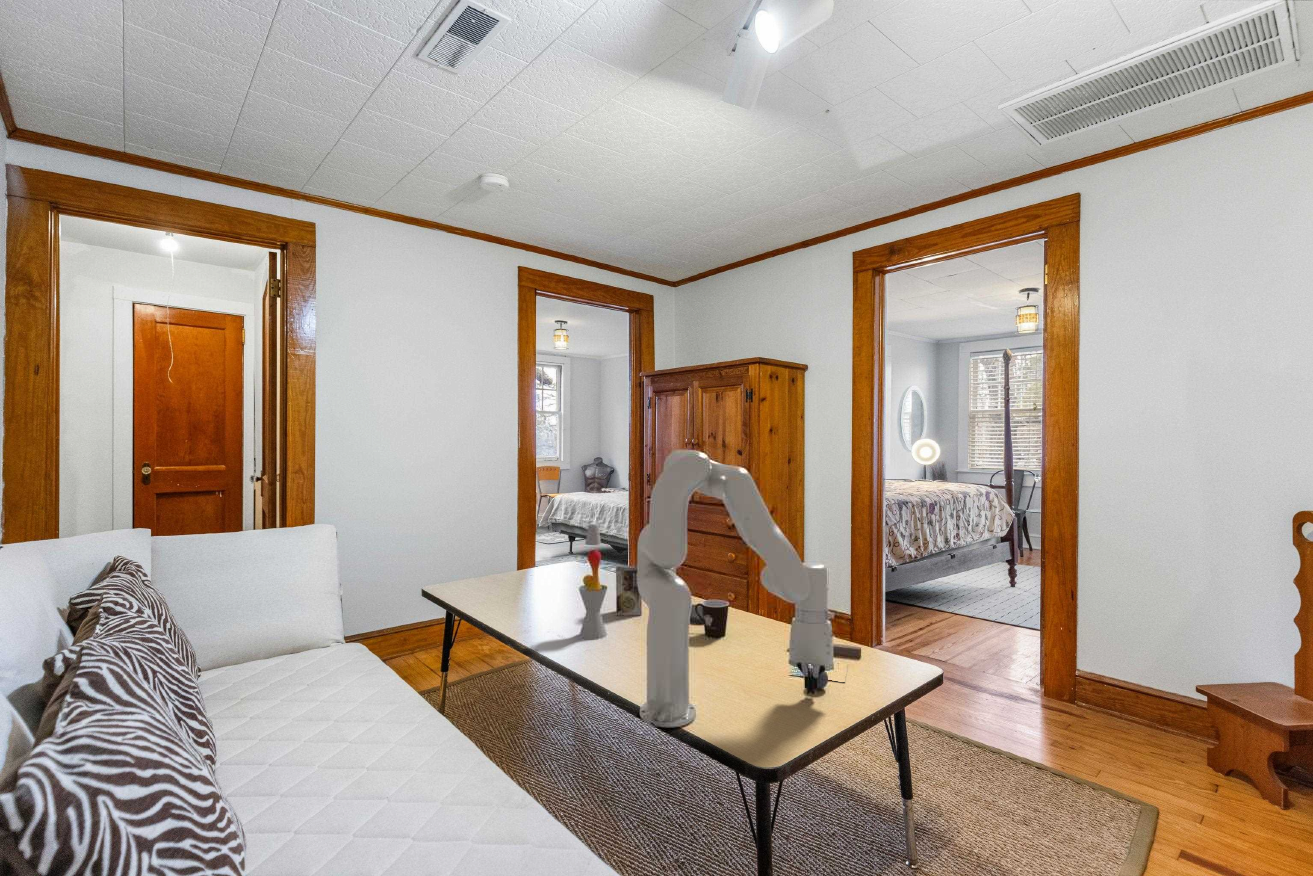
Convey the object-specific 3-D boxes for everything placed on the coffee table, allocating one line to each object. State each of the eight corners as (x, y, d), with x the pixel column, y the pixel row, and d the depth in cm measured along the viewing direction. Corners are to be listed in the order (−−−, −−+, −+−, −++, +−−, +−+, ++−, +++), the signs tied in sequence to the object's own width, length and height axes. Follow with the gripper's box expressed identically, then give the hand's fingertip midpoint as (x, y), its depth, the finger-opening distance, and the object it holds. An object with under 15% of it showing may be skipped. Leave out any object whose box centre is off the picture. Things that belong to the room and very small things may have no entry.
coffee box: (641, 610, 220) (641, 565, 220) (641, 615, 214) (641, 569, 214) (616, 610, 220) (616, 565, 220) (615, 615, 214) (615, 569, 214)
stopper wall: (860, 658, 173) (860, 649, 173) (789, 649, 180) (789, 640, 180) (861, 655, 175) (861, 647, 175) (790, 647, 182) (790, 638, 182)
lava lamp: (609, 630, 197) (609, 522, 197) (604, 640, 188) (604, 526, 188) (582, 630, 198) (582, 522, 198) (575, 639, 189) (575, 526, 189)
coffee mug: (733, 637, 191) (733, 605, 191) (709, 640, 188) (709, 608, 188) (716, 626, 202) (716, 596, 201) (692, 629, 198) (692, 598, 198)
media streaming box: (670, 617, 214) (670, 608, 214) (700, 609, 223) (700, 601, 223) (699, 627, 202) (699, 618, 202) (730, 618, 212) (730, 610, 212)
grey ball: (831, 669, 153) (827, 689, 153) (811, 663, 156) (807, 683, 155) (827, 672, 149) (824, 693, 148) (807, 666, 151) (803, 686, 151)
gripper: (844, 614, 147) (844, 690, 147) (782, 608, 153) (782, 681, 153) (842, 623, 140) (842, 703, 140) (777, 616, 146) (777, 693, 146)
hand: (811, 691), depth 147 cm, fingers closed
